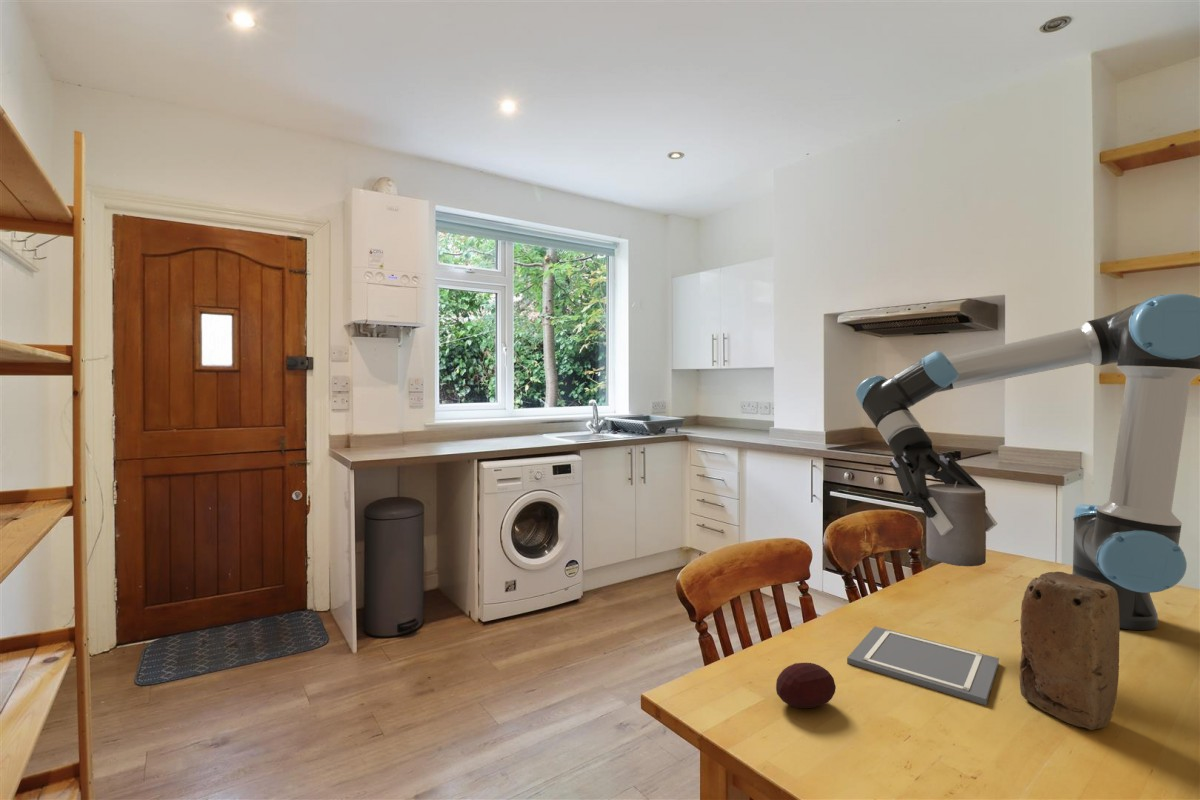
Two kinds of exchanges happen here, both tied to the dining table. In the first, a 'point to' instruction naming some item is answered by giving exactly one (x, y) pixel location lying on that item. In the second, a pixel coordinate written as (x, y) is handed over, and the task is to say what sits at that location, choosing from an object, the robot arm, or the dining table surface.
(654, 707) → the dining table surface
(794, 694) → the potato
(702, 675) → the dining table surface
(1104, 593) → the block
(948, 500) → the pillar candle
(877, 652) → the slate tile
